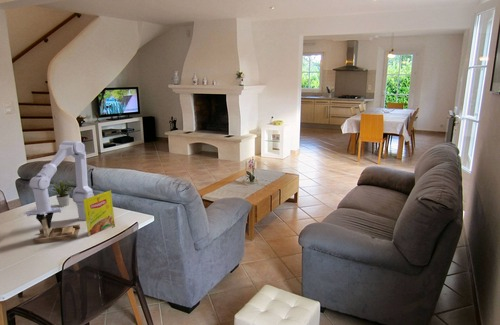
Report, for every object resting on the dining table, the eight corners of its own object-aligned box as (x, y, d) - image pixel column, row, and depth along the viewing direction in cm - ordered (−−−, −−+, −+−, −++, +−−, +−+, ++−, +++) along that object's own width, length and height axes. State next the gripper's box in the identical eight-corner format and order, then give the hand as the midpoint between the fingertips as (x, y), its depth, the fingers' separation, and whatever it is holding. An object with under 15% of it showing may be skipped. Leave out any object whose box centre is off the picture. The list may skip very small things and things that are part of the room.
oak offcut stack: (75, 230, 177) (74, 225, 177) (72, 237, 170) (71, 232, 169) (63, 231, 176) (63, 227, 175) (60, 238, 168) (59, 234, 168)
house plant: (64, 211, 204) (60, 184, 200) (44, 209, 207) (40, 183, 203) (81, 202, 217) (78, 177, 213) (62, 200, 220) (58, 175, 216)
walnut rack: (80, 229, 180) (79, 224, 179) (76, 240, 169) (75, 234, 168) (41, 234, 175) (39, 229, 174) (34, 246, 164) (33, 240, 163)
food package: (89, 238, 171) (83, 199, 165) (88, 238, 171) (82, 199, 166) (115, 226, 183) (111, 190, 178) (114, 226, 184) (109, 189, 179)
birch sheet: (51, 229, 173) (48, 214, 171) (48, 235, 167) (45, 220, 165) (48, 229, 173) (45, 214, 171) (44, 236, 166) (41, 220, 164)
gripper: (22, 206, 160) (27, 233, 164) (57, 202, 164) (62, 229, 168) (27, 200, 167) (32, 227, 170) (60, 197, 171) (65, 223, 174)
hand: (47, 227), depth 169 cm, fingers closed on birch sheet, 1 cm apart
